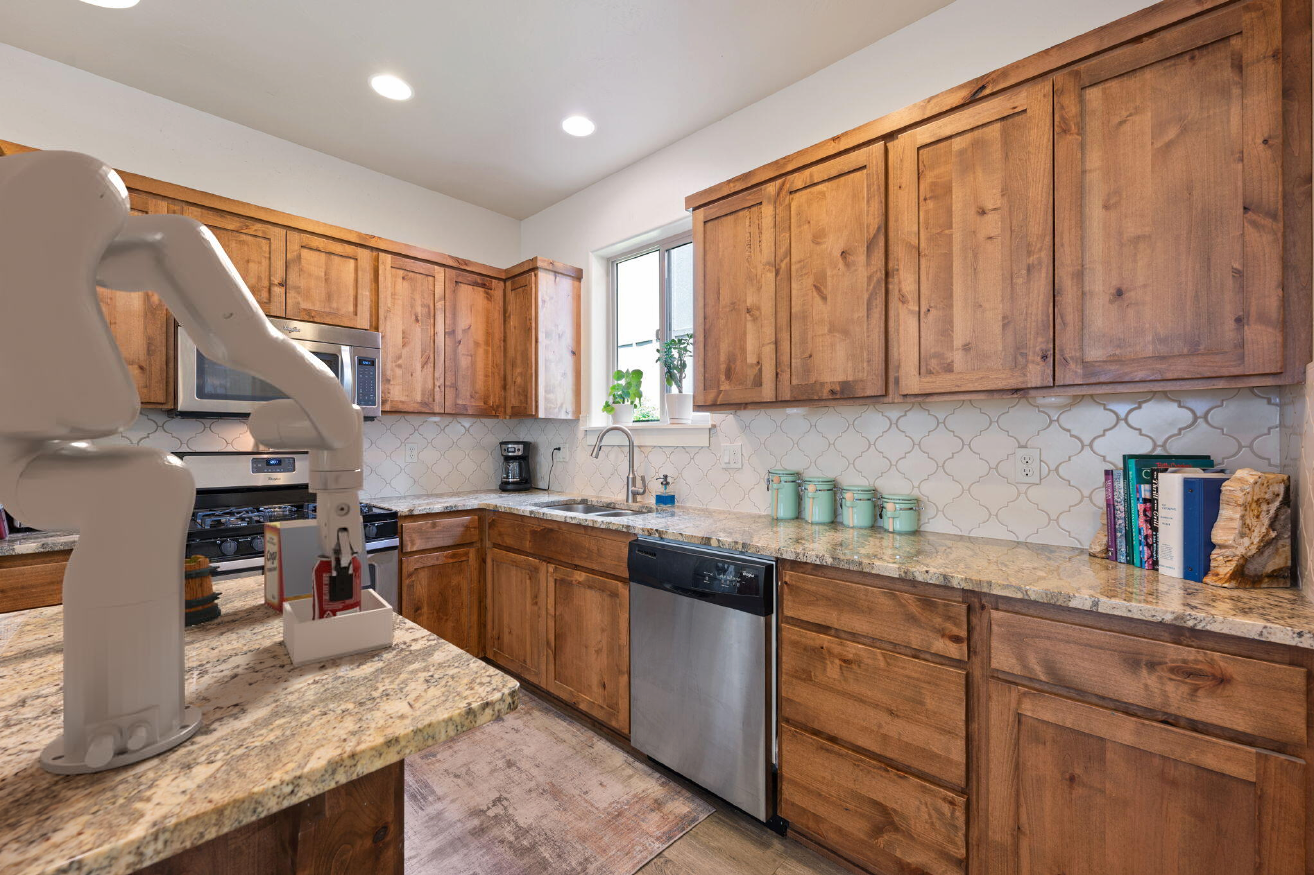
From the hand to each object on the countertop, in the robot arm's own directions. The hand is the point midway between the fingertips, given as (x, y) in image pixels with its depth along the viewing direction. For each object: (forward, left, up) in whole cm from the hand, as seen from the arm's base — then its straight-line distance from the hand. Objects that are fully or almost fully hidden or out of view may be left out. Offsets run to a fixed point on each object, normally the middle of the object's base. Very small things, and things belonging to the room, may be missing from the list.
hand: (336, 594), depth 90 cm
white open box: (0, 0, -8) cm, 8 cm away
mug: (+29, +20, -8) cm, 36 cm away
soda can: (0, 0, -6) cm, 6 cm away
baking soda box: (+29, +3, -8) cm, 30 cm away
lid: (+10, 0, +5) cm, 11 cm away
